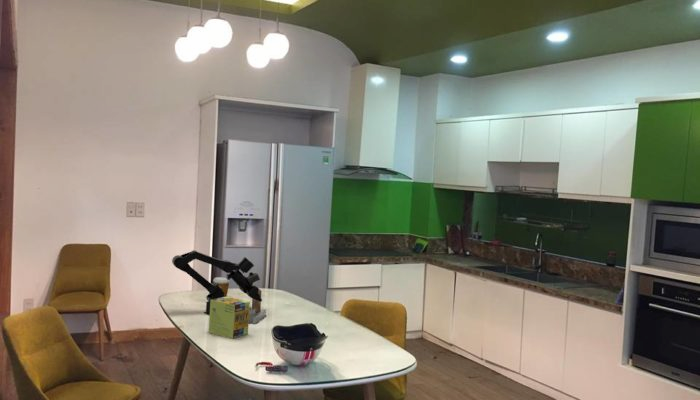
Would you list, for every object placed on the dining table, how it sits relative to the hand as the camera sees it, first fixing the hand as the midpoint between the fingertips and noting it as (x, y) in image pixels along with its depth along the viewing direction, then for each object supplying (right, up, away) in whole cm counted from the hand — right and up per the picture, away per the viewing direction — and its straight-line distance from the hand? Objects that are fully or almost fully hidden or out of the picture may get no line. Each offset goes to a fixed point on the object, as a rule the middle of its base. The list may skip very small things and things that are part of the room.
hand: (259, 299), depth 313 cm
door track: (0, -7, -17) cm, 18 cm away
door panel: (-2, -7, 0) cm, 7 cm away
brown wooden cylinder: (-26, -4, +25) cm, 36 cm away
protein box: (-7, -8, -45) cm, 46 cm away
